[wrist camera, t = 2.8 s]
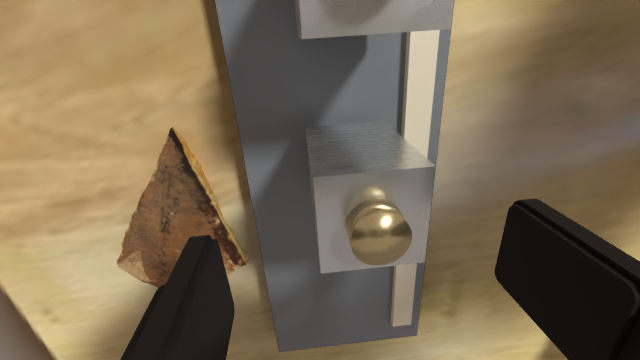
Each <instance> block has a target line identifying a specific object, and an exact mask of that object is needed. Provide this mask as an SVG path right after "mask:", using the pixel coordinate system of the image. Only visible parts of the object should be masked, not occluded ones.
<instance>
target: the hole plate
mask: <svg viewBox="0 0 640 360" xmlns="http://www.w3.org/2000/svg"><path fill="white" fill-rule="evenodd" d="M215 3H216V9H217V14H218V20H219V25H220V31H221V36H222V42H223V47H224V53H225V58H226V64H227V69H228V74H229V80H230V85H231V91H232V96H233V102H234V107H235V113H236V118H237V124H238V129H239V135H240V140H241V146H242V151H243V157H244V162H245V168H246V173H247V179H248V184H249V189H250V195H251V200H252V206H253V211H254V217H255V222H256V228H257V233H258V239H259V244H260V250H261V255H262V261H263V266H264V272H265V277H266V283H267V288H268V294H269V299H270V305H271V310H272V315H273V321H274V326H275V332H276V337H277V343H278V348H279V352H283V351H292V350H300V349H308V348H316V347H325V346H333V345H341V344H350V343H358V342H366V341H374V340H383V339H391V338H399V337H408V336H416V335H417V329H418V321H419V312H420V303H421V294H422V285H423V276H424V267H425V262H424V263H414V264H405V265H396V266H387V267H377V268H368V269H359V270H350V271H341V272H331V273H322V274H321V271H320V263H319V255H318V247H317V239H316V231H315V223H314V215H313V207H312V199H311V188H310V176H309V164H308V152H307V140H306V128H305V127H315V126H326V125H338V124H350V123H362V122H374V121H385V122H386V123H388V124H389V125H390V126H391V127H392V128H393V129H394V130H395V131H397V132H398V133H399V134H400V135H401V136H402V137H403V138H404V139H406V140H407V141H408V142H409V143H410V144H411V145H412V146H413V147H415V148H416V149H417V150H418V151H419V152H420V153H421V154H422V155H424V156H425V157H426V158H427V159H428V160H429V161H430V162H431V163H433V164H434V165H435V169H436V160H437V151H438V142H439V133H440V125H441V116H442V107H443V98H444V89H445V80H446V71H447V62H448V53H449V44H450V35H451V29H444V30H429V31H414V32H400V33H385V34H371V35H356V36H342V37H327V38H312V39H298V33H297V22H296V10H295V0H215ZM453 9H454V5H453ZM452 18H453V14H452ZM451 27H452V23H451ZM434 178H435V175H434ZM433 187H434V184H433ZM432 196H433V193H432ZM431 205H432V202H431ZM430 214H431V211H430ZM429 223H430V220H429ZM428 231H429V229H428ZM427 240H428V238H427ZM426 249H427V247H426ZM425 258H426V256H425Z"/></svg>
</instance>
